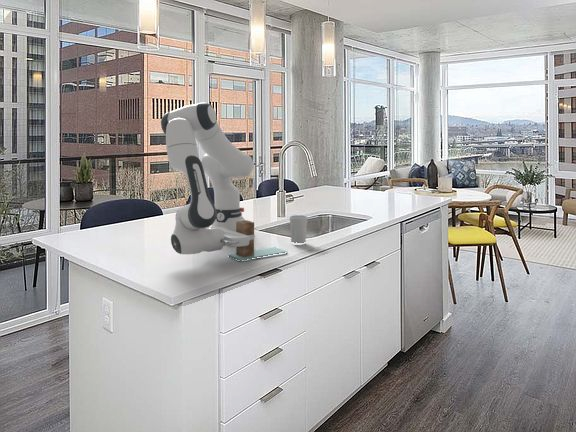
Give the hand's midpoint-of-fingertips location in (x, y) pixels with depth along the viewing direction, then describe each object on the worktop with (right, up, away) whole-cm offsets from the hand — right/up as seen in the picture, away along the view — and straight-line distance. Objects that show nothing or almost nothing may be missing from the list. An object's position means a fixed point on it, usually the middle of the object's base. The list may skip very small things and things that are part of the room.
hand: (246, 234), depth 196 cm
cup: (+20, -5, +26) cm, 33 cm away
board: (+4, -8, +5) cm, 11 cm away
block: (-1, -8, +1) cm, 8 cm away
